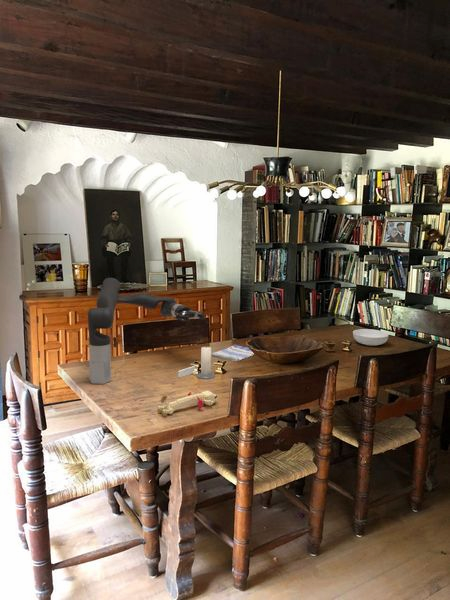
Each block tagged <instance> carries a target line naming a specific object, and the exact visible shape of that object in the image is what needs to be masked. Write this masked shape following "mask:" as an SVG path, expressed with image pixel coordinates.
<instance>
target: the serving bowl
mask: <svg viewBox="0 0 450 600" xmlns="http://www.w3.org/2000/svg"><path fill="white" fill-rule="evenodd" d="M352 336H353V339H354V340H355V341H356V343H359V344H362V345H364V346H371V347H373V346H380V345H383V344H385V343H386V342H387V341H388V339H389V336H390V334H389V333H388V332H386V331H382V330H378V329H373V328H371V329H369V328H361V329H355V330H353V331H352Z"/></svg>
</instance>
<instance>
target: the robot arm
mask: <svg viewBox="0 0 450 600" xmlns="http://www.w3.org/2000/svg"><path fill="white" fill-rule="evenodd" d="M121 287H122V285H121V283H120V280H118V279H116V278H113V277H106V278H105V279H104V280H103V282H102V285H101V289H100V292H99V295H98V296H97V299H96V303H95V304H96V307H91V308H89V309H88V312H87V326H88V347H89V348H88V354H89V355H88V356H89V359H88V360H89V382H90V384H94V385H95V384H98V385H99V384H100V385H105V384H107V383H110V382H111V380H112V371H111V370H112V365H111V364H112V363H111V361H112V359H111V357H112V356H111V355H112V354H111V353H112V352H111V337H110V336H109V335H107V334H104V333H102V332H100V331H98V330H103V329H104V330H107V329H110V328H112V327H113V324H114V319H115V318H114V316H115V310H116V307H117V303H120V304H121V303H122V304H127V305H128V304H129V305H136V306H139V307H144V308H146V309H150V310H155V309H156V308H157V307H158V306H159V304H160V303H161V305H160V310H159V312H160V315H161V316H163V317H165V318H166V317H168V318H169V317H170V318H171V317H173V318H174V319H176V320H177V321H182V322H188V321H189V320H191V319H194V320H196V319H200V320H205V318H206V316H205V312H203V311H201V310H200V311H199V310H196V311H194V310H191V308H190V307H189V306H187V305H184V304H180V303H178V302H177V301H176V300H175V298H173V297H169V296H165V297H164V296H163V297H162V296H155V295H151V294H149V293H145V292H144V293H134V294H131V295H120V294H119V293H120V289H121Z"/></svg>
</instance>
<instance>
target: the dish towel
mask: <svg viewBox="0 0 450 600" xmlns="http://www.w3.org/2000/svg"><path fill="white" fill-rule="evenodd" d="M249 348H250V347H245V346H241V345H238V344H233V345H231V346H229V347H227V348H225V349H224V348H223V349H220V350H218V351H213V352H211V357H214V358H219V359H223V360H228V361H231V360H232V362H234V361H238V362H240V360H241V361H243V360H242V359H244V360H246V359H249V358H251V357H253V355H254V353H253V352H252V351H251V350H250V349H249ZM250 356H251V357H250ZM254 356H255V355H254ZM248 357H249V358H248ZM245 358H246V359H245Z"/></svg>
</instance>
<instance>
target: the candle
mask: <svg viewBox="0 0 450 600" xmlns="http://www.w3.org/2000/svg"><path fill="white" fill-rule="evenodd" d="M200 349H201V350H200V352H201V353H200V364H201V371H200V372H201V376H210V375H211V373H212V372H211V370H212V347H210V346H207V345H206V346H201V348H200Z"/></svg>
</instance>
